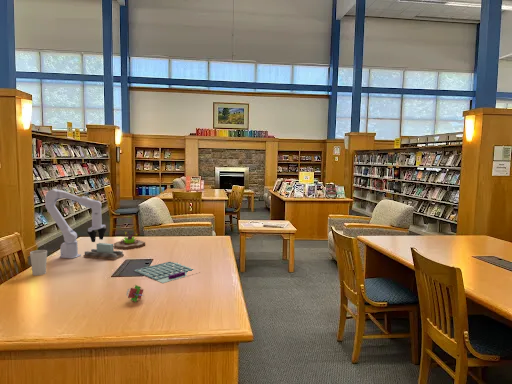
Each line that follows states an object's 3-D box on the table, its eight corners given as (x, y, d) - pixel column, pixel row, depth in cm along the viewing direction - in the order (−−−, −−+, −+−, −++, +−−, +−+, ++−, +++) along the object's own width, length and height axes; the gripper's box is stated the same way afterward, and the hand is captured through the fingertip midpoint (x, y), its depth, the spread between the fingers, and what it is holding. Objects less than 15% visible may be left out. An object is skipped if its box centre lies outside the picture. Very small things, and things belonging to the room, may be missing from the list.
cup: (28, 273, 195) (27, 251, 194) (45, 270, 201) (44, 249, 200) (33, 277, 190) (32, 254, 188) (50, 273, 195) (49, 251, 194)
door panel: (113, 254, 230) (113, 244, 230) (110, 256, 227) (110, 245, 227) (99, 253, 233) (99, 242, 232) (96, 254, 230) (96, 243, 229)
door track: (83, 257, 228) (83, 252, 228) (94, 253, 238) (93, 248, 237) (114, 260, 223) (114, 254, 223) (123, 255, 233) (123, 251, 232)
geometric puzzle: (141, 290, 166) (132, 279, 162) (150, 294, 162) (141, 283, 158) (130, 303, 162) (120, 292, 158) (139, 307, 158) (129, 296, 154)
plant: (108, 246, 257) (108, 231, 256) (132, 242, 273) (132, 227, 272) (125, 251, 245) (124, 235, 244) (149, 246, 261) (148, 230, 260)
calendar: (174, 262, 222) (174, 259, 221) (204, 272, 203) (204, 268, 203) (134, 272, 202) (133, 268, 202) (162, 284, 183) (162, 279, 183)
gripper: (94, 221, 224) (95, 243, 225) (109, 218, 238) (109, 238, 239) (84, 221, 225) (85, 242, 226) (100, 217, 239) (100, 238, 241)
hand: (97, 240), depth 233 cm, fingers open, 7 cm apart
